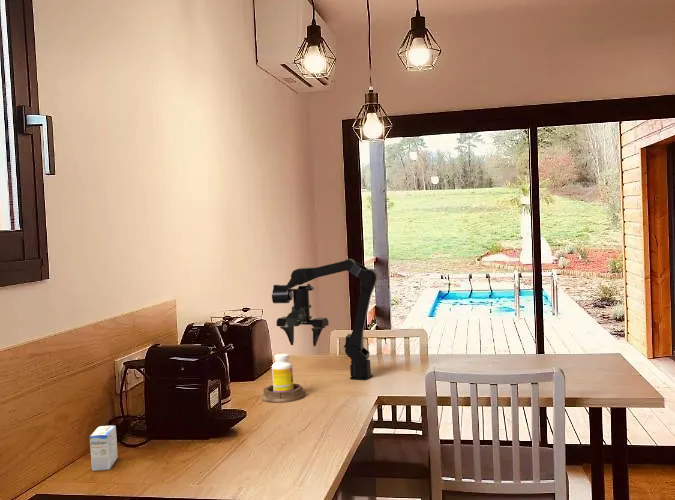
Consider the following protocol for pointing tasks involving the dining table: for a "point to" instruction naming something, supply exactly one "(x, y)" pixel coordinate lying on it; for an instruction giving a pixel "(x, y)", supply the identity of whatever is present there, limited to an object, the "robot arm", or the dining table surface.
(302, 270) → the robot arm
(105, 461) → the medicine box
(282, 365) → the supplement bottle
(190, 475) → the dining table surface
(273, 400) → the cup stand
